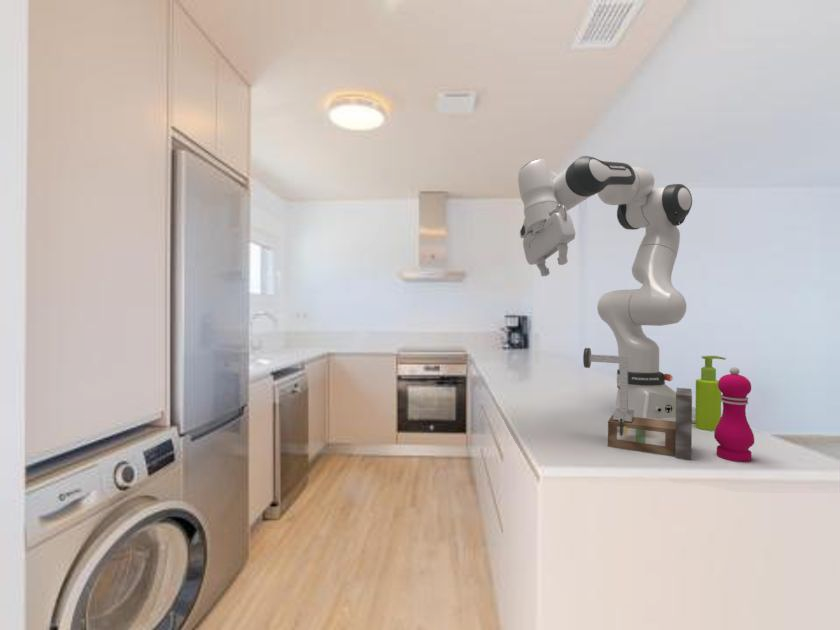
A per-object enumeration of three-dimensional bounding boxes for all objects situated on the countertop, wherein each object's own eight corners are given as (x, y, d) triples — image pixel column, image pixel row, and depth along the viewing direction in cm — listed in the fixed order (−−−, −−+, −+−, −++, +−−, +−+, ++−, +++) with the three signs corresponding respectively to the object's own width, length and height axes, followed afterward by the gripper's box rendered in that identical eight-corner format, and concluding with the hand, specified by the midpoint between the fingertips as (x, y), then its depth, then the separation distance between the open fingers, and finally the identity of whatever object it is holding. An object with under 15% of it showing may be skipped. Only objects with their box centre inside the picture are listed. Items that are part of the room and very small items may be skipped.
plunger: (581, 430, 107) (581, 349, 107) (587, 423, 114) (587, 347, 113) (630, 436, 101) (631, 351, 101) (634, 429, 108) (634, 349, 108)
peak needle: (623, 434, 102) (623, 426, 102) (623, 434, 102) (624, 425, 102) (626, 435, 102) (626, 426, 102) (626, 434, 102) (626, 426, 102)
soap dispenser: (729, 431, 117) (730, 357, 117) (701, 430, 118) (701, 356, 118) (718, 426, 123) (719, 355, 123) (691, 424, 124) (692, 354, 124)
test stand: (607, 447, 104) (607, 388, 103) (613, 436, 112) (613, 382, 112) (691, 460, 95) (691, 395, 95) (690, 447, 103) (691, 388, 103)
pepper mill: (761, 463, 93) (762, 369, 92) (723, 461, 94) (724, 368, 94) (743, 452, 100) (744, 365, 100) (708, 450, 101) (709, 364, 101)
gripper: (574, 200, 105) (587, 255, 102) (537, 233, 124) (547, 280, 122) (551, 201, 103) (563, 257, 101) (516, 235, 123) (526, 282, 121)
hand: (554, 269), depth 111 cm, fingers open, 8 cm apart
